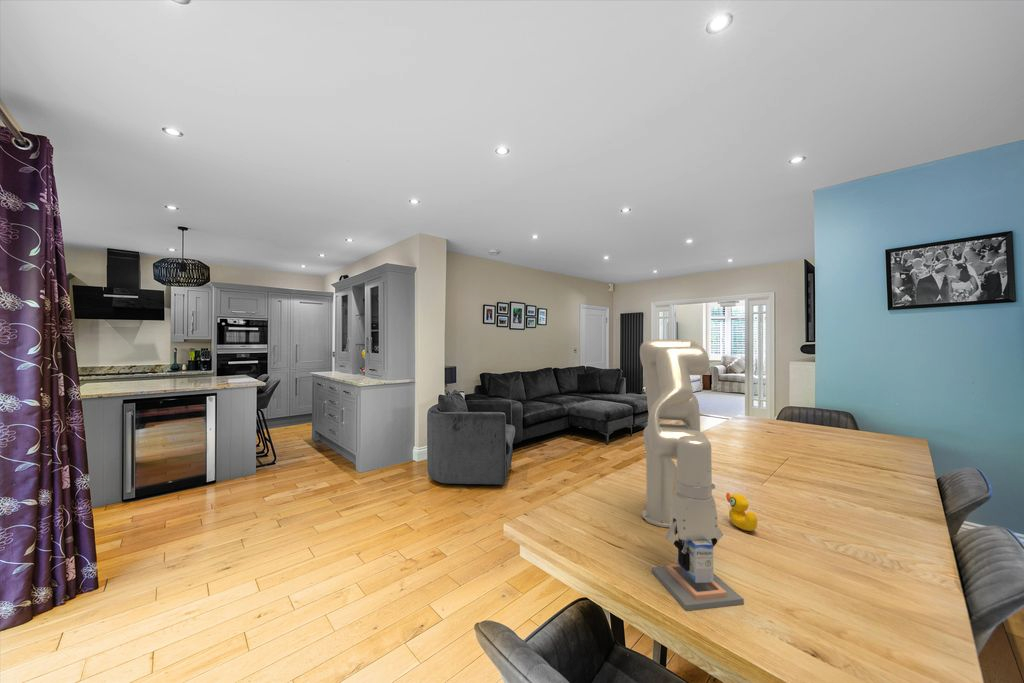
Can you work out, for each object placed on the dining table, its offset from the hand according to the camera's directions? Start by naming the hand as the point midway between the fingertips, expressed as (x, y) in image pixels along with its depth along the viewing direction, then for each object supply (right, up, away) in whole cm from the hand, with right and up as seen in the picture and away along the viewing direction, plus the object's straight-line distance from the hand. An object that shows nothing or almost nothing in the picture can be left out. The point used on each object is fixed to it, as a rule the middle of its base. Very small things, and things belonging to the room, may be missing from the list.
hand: (694, 565), depth 87 cm
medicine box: (0, -2, 0) cm, 2 cm away
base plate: (0, -5, 0) cm, 5 cm away
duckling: (+30, -6, +30) cm, 43 cm away
